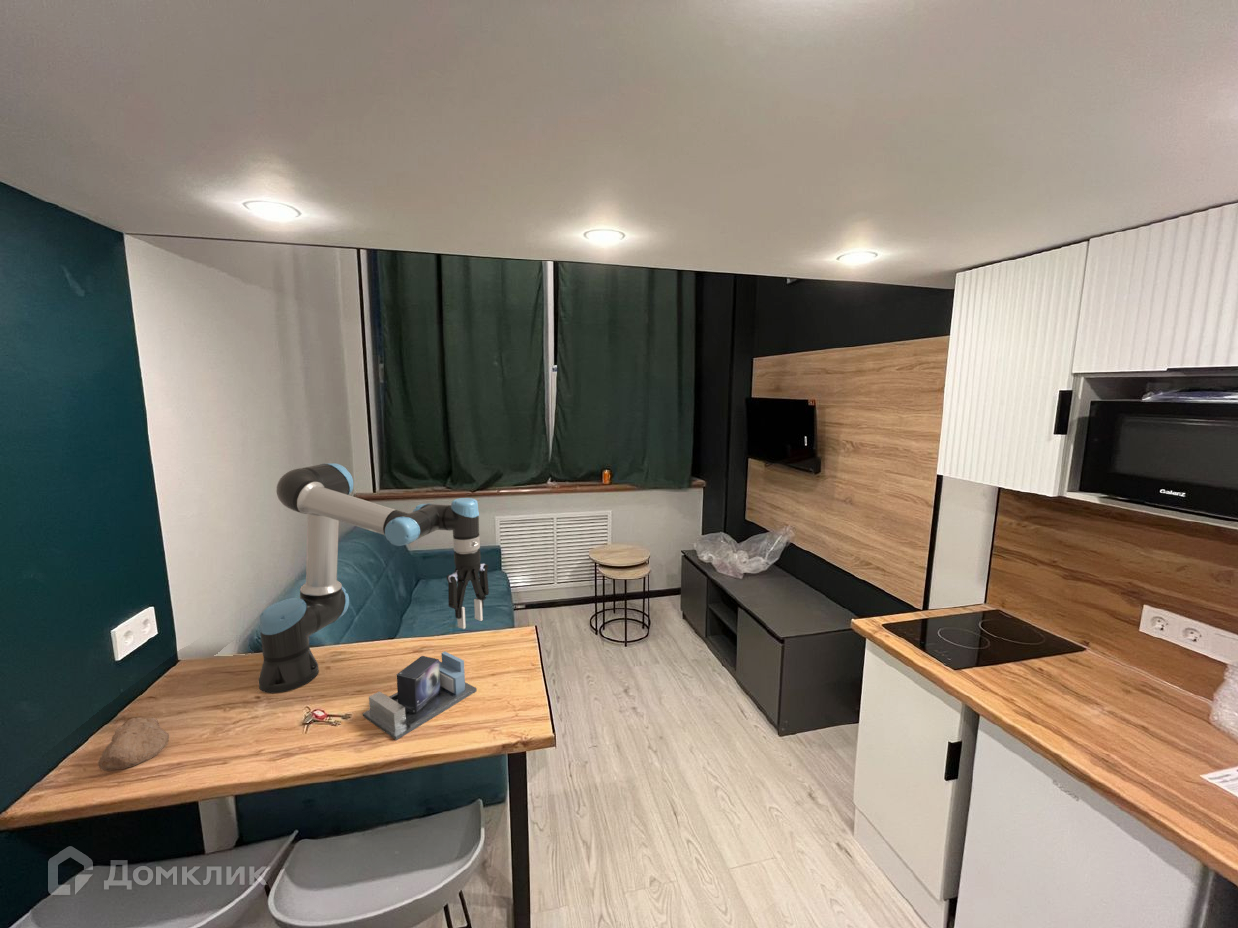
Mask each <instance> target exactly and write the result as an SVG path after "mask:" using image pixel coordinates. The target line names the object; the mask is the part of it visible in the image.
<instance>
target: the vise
mask: <svg viewBox="0 0 1238 928" xmlns="http://www.w3.org/2000/svg"><path fill="white" fill-rule="evenodd" d="M476 692H477V687H475V686H473V685H471V684H469V683H467V682H466V681H465V690H463V691H462V692H460V693H458V694H457V695H456V694H454V693H452V692H450V691H449V690H447V689H445V688H443V687H441V686H440V693H439V694H438V695H437V696H436V697H434V698H433V699H432V700H431V701H430V702H429V703H428V704H427V705H425V706H424V707H423V708H422V709H421V710H420V711H419V712H418V713H416V714H415V713H410V712H406V711H405V707H404V706H402V705H401V704H399V703H398V693H397V692H395V693H393V694H391V695H390V696H388V695H386V694H385V693H383V692H381V691H377V692H376V693H373V694H371V695H369V696H368V705H369V709H368V710H366V711H365V712H362V717H363V718H364V719H365V720H367V721H368V722H370V723H371V724H373V725H374V726H375V727H377V728H378V729H380V730H381V731H382V732H384V733H385V734H387V735H388V736H389V737H391V738H392V739H394V740H396V741H397V740H399V739H401V738H403V737H405V735H407V734H409V733H410V732H412V731H414V730H416V729H417V728H419V727H421V726H422V725H424V724H425V723H427V722H429V721H430V720H433V719H434V718H435V717H437V716H438V715H440V714H441V713H444V712H445V711H447V710H448V709H450V708H452V707H453V706H455V705H456V704H458V703H459V702H461V701H463V700H465V699H466V698H468V697H469V696H471V695H473V694H475V693H476Z"/></svg>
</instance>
